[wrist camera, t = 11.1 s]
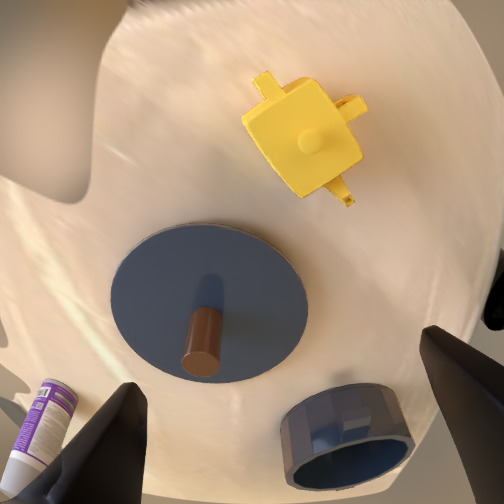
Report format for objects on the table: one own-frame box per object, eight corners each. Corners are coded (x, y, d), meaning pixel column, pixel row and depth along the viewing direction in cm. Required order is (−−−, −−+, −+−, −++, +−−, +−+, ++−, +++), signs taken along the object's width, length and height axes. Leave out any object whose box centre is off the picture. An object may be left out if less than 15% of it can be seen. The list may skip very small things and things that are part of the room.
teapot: (375, 156, 19) (413, 177, 14) (301, 204, 20) (318, 239, 16) (305, 47, 16) (327, 31, 11) (223, 100, 17) (216, 102, 12)
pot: (410, 352, 27) (435, 403, 21) (385, 442, 36) (396, 480, 30) (270, 381, 28) (275, 441, 22) (288, 462, 36) (292, 503, 31)
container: (48, 398, 30) (9, 498, 17) (38, 374, 28) (-10, 482, 15) (81, 408, 31) (47, 515, 17) (73, 385, 29) (30, 502, 15)
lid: (294, 201, 20) (311, 238, 15) (311, 361, 27) (322, 413, 22) (87, 240, 21) (51, 282, 16) (152, 379, 28) (141, 427, 23)
